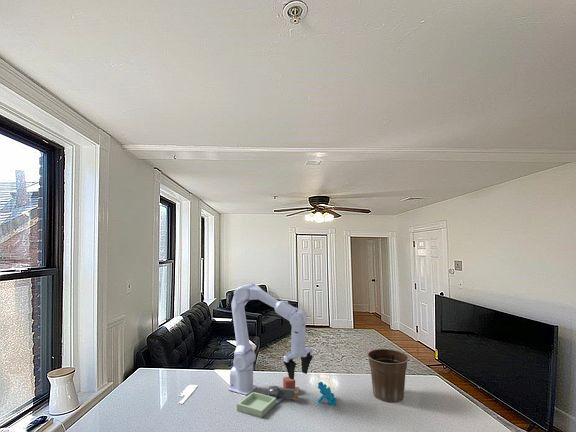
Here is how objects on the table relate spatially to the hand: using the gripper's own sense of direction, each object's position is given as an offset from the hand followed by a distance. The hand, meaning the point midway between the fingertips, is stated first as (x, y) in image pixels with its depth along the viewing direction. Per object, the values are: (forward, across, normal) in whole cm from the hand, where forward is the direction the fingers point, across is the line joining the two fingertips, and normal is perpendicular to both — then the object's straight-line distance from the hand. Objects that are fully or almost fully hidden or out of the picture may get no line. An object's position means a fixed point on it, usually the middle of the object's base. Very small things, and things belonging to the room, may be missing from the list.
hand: (298, 375), depth 135 cm
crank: (+9, -4, +4) cm, 10 cm away
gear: (+10, +7, -10) cm, 15 cm away
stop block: (+9, +2, +8) cm, 12 cm away
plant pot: (+9, +29, -23) cm, 38 cm away
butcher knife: (+10, -31, +34) cm, 47 cm away
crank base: (+9, -5, +7) cm, 13 cm away
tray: (+9, -16, +6) cm, 19 cm away
